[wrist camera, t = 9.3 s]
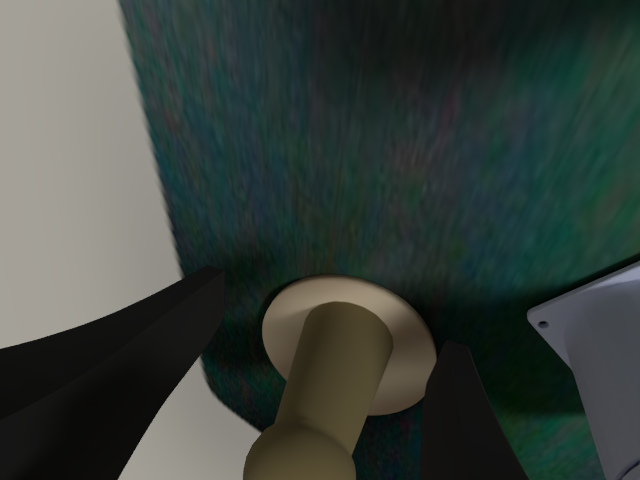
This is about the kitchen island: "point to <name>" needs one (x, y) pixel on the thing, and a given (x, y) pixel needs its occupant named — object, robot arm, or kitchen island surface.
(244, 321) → the kitchen island surface
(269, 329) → the cork trivet
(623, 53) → the kitchen island surface
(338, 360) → the pepper shaker
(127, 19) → the kitchen island surface
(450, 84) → the kitchen island surface
